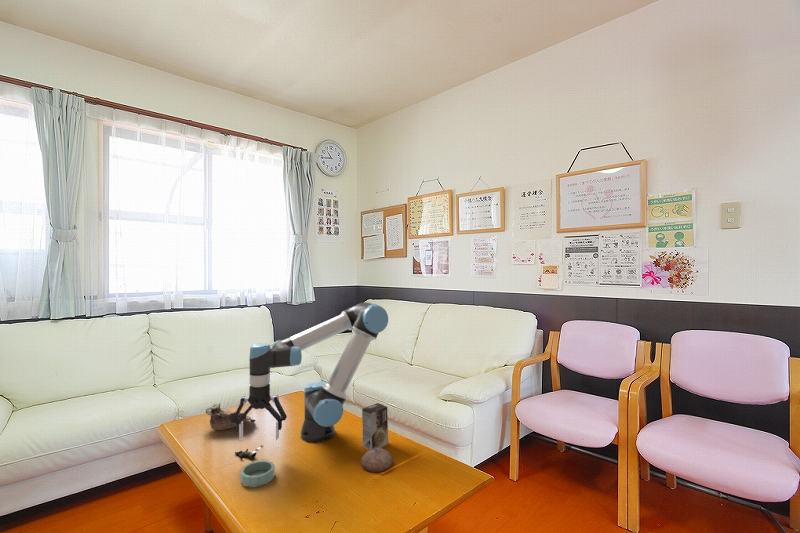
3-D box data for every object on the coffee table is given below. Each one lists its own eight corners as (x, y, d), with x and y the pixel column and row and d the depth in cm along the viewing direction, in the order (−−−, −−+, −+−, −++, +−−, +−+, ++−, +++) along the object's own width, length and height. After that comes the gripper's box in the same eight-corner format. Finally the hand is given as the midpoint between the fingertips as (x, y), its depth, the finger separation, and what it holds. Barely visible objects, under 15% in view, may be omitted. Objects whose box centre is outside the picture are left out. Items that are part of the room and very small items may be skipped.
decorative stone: (374, 476, 136) (374, 460, 136) (354, 465, 145) (354, 450, 145) (399, 464, 144) (398, 449, 144) (378, 454, 153) (378, 440, 153)
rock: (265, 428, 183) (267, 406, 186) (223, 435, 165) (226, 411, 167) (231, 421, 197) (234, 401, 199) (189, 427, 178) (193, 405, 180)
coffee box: (378, 439, 166) (378, 402, 166) (388, 444, 161) (388, 406, 161) (362, 446, 160) (361, 408, 159) (372, 452, 155) (371, 412, 155)
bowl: (277, 469, 143) (277, 459, 143) (270, 486, 131) (270, 475, 131) (245, 471, 141) (245, 461, 141) (236, 489, 130) (236, 478, 130)
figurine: (251, 455, 146) (229, 449, 151) (252, 464, 147) (230, 458, 152) (263, 445, 152) (241, 440, 157) (264, 455, 152) (242, 449, 157)
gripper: (294, 380, 154) (293, 433, 154) (229, 382, 151) (228, 436, 151) (291, 386, 147) (290, 441, 147) (222, 388, 144) (222, 444, 144)
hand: (259, 439), depth 149 cm, fingers open, 13 cm apart
